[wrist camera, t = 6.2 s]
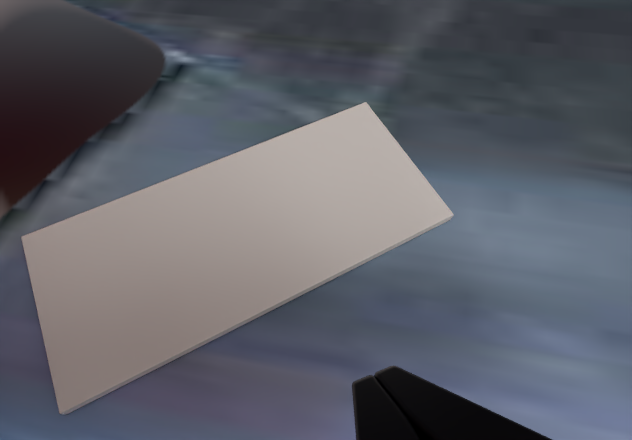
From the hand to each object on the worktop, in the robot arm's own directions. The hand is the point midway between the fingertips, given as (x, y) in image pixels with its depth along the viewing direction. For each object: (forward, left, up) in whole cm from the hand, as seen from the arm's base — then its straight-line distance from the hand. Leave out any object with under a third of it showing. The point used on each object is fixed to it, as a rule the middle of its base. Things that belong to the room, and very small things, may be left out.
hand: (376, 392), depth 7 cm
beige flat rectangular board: (+9, 0, -9) cm, 12 cm away
